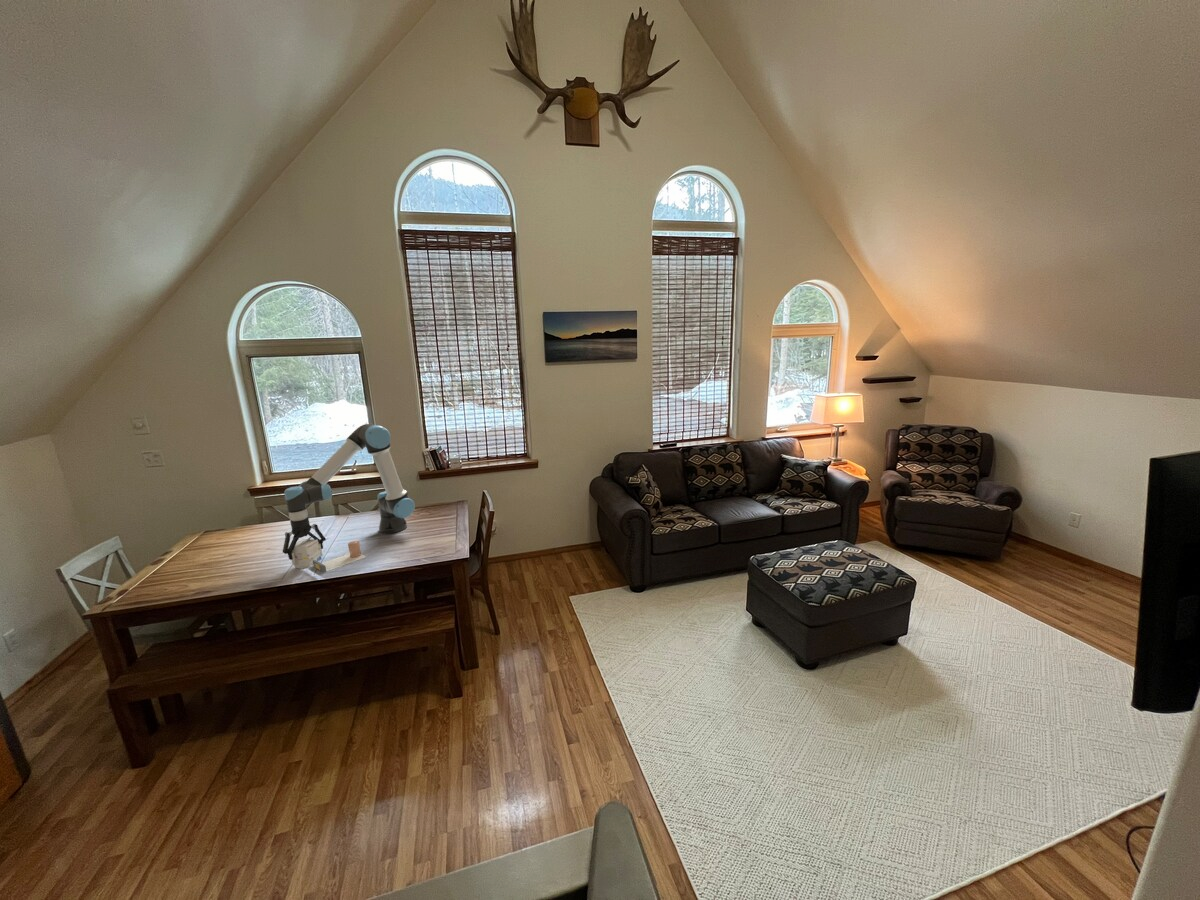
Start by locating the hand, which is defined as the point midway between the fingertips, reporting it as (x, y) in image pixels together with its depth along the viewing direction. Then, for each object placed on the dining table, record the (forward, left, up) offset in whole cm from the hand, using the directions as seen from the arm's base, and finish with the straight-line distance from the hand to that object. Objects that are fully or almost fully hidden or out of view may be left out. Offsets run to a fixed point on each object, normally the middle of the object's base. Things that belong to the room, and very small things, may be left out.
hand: (307, 560), depth 234 cm
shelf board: (-10, +13, -3) cm, 16 cm away
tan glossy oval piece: (-17, +13, -1) cm, 22 cm away
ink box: (0, 0, -2) cm, 2 cm away
